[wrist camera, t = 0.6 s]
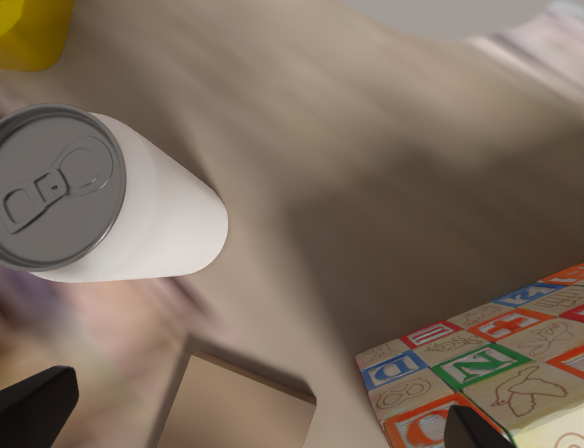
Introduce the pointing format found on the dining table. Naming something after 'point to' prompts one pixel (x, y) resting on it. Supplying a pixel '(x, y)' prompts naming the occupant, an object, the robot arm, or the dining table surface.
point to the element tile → (33, 33)
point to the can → (99, 201)
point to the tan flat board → (234, 409)
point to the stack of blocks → (489, 369)
